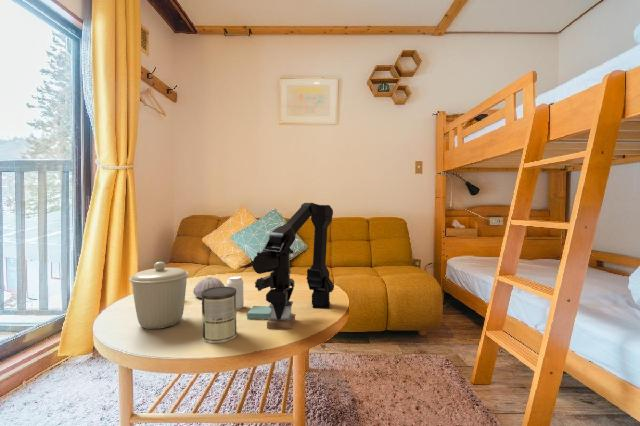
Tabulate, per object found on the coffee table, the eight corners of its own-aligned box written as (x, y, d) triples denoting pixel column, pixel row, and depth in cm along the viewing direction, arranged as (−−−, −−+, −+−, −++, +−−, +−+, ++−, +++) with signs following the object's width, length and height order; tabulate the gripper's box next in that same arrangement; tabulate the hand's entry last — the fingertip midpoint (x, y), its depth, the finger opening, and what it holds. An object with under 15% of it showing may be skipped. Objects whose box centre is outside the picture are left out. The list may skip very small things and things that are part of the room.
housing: (293, 315, 113) (292, 301, 113) (290, 321, 108) (290, 306, 108) (272, 315, 113) (272, 300, 113) (269, 320, 108) (269, 305, 108)
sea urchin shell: (199, 302, 135) (199, 283, 135) (189, 295, 145) (188, 277, 145) (230, 296, 143) (230, 278, 143) (218, 289, 154) (218, 272, 154)
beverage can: (224, 308, 127) (223, 277, 127) (238, 304, 132) (237, 274, 131) (232, 312, 123) (231, 280, 122) (246, 308, 127) (246, 277, 127)
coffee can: (195, 337, 100) (194, 291, 100) (224, 327, 108) (223, 284, 108) (214, 346, 94) (213, 297, 93) (244, 335, 102) (243, 290, 101)
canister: (122, 324, 111) (120, 262, 110) (175, 310, 125) (174, 255, 124) (143, 339, 99) (141, 269, 98) (199, 322, 113) (198, 261, 112)
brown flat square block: (295, 319, 114) (295, 314, 114) (291, 328, 106) (291, 322, 106) (272, 319, 115) (272, 313, 115) (267, 328, 107) (266, 322, 107)
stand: (274, 311, 123) (274, 306, 123) (269, 319, 115) (269, 313, 115) (253, 311, 124) (253, 305, 123) (247, 318, 116) (247, 313, 116)
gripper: (264, 262, 120) (264, 305, 120) (249, 274, 101) (250, 324, 102) (294, 263, 119) (294, 305, 120) (285, 274, 100) (285, 325, 101)
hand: (281, 314), depth 111 cm, fingers open, 9 cm apart
